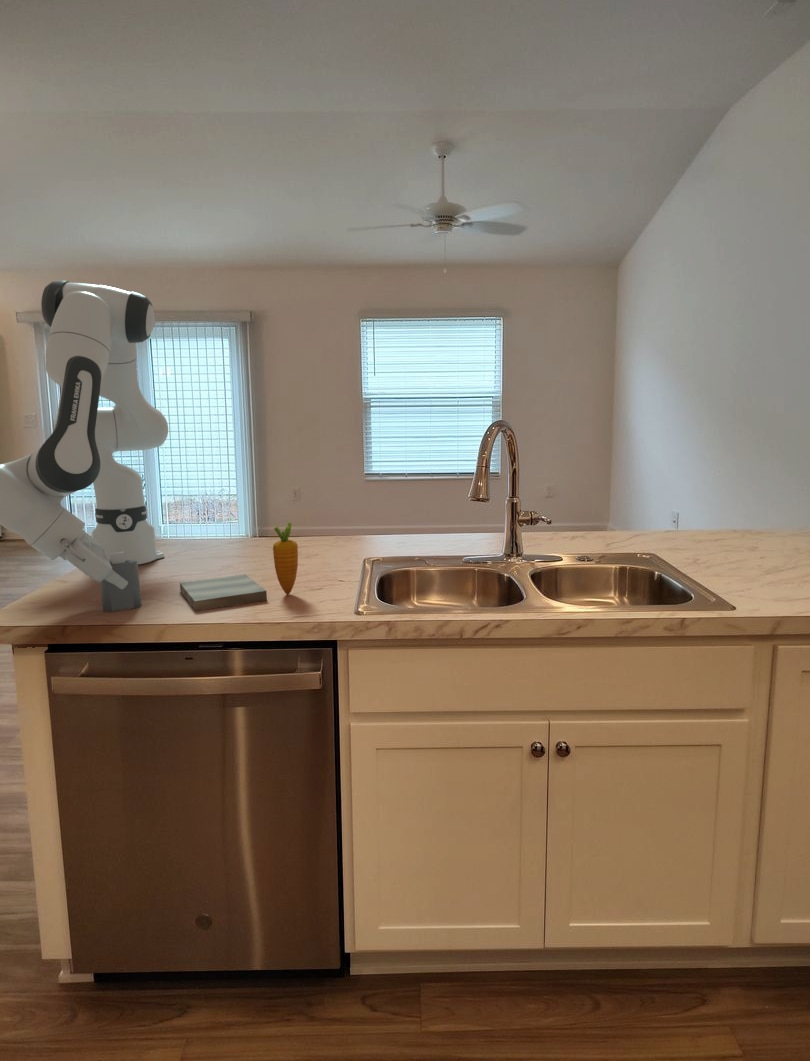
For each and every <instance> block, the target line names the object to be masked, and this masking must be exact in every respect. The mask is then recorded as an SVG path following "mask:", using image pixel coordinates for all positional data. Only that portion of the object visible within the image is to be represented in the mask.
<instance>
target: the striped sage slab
mask: <svg viewBox="0 0 810 1061" xmlns="http://www.w3.org/2000/svg"><path fill="white" fill-rule="evenodd" d="M179 588H180V590H179V591H181V592H182V593H181V592H180V593H181V595H182V596H183V595H184V596H185V597H184V596H183V597H184V598H185V599H187V600H188V601H187V600H186V601H187V602H188V604H189V603H190V604H191V605H190V604H189V605H190V606H191V607H193V608H194V609H193V608H192V609H193V611H194V612H198V611H197V610H200V611H205V610H204V609H207V610H212V609H211V608H214V609H218V607H220V608H225V607H224V606H227V607H231V606H230V605H233V606H238V605H237V604H240V605H244V604H243V603H247V604H251V603H259V601H260V602H265V600H267V601H268V599H267V598H268V597H267V596H268V595H267V590H266V589H265V588H263V586H261V585H259V583H257V582H256V581H255V580H253V579H252V578H251V577H250V576H249V575H247V574H246V573H245V574H244V573H243V574H238V575H237V574H236V575H229V576H221V577H212V578H207V579H200V580H191V581H183V582H182V581H181V582H179Z"/></svg>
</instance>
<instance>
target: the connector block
mask: <svg viewBox="0 0 810 1061" xmlns="http://www.w3.org/2000/svg"><path fill="white" fill-rule="evenodd" d="M110 557H111V562H110V564H111V566H112V570H114V572H116V573H117V574H118V575H120V576H122V577H123V578H124V579H126V580H127V582H128V584H127V586H126V587H125V588H124V589H120V588H119V587H117V586H116V585H114V584H112V583H110V582H108V581H106V580H105V579H103V581H102V582H99V585H100V595H101V605H102V611H103V612H105V611H110V612H117V611H123V610H132V609H136V608H137V609H138V608H140V607H142V597H141V596H142V595H141V585H140V574H139V573H140V572H139V564H138V562H137V560H126V561H125V557H124V552H115V553H110ZM116 610H117V611H116Z"/></svg>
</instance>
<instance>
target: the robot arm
mask: <svg viewBox="0 0 810 1061" xmlns="http://www.w3.org/2000/svg"><path fill="white" fill-rule="evenodd" d="M40 300H41V301H40V306H41V308H40V309H41V313H42V318H43V320H44V322H45V323H46V324H47V325H48V326H49V328H50V329H49V333H48V338H47V341H46V347H45V361H44V362H45V372H46V374H47V375H48V377H50V379H51V380H52V381H53V382H54V383H56V385H58V386H60V393H59V394H60V395H59V402H58V406H57V407H58V409H57V414H56V419H55V423H54V430H53V431H52V433H51V434H50V436H49V437H48V438H47V439H46V440H45V441H44V442H43V444H42V445H41V446H40V447H38V449H37V450H35V451H34V452H33V453H30V454H27V455H26V456H23V457H21V458H18V459H15V460H12V461H9V462H5V463H0V526H2V527H3V528H5V529H6V530H8V531H9V532H12V533H15V534H17V535H19V536H20V537H21V538H22V539H23V540H24V541H25V542H26V543H27V544H28V545H30V546H31V547H32V548H33V549H35V550H37V551H38V552H39V553H40V554H42V555H44V556H45V557H46V558H48V559H50V560H51V561H54V560H56V559H58V558H60V559H62V560H63V561H68V562H69V563H70V564H72V566H74V567H76V568H77V569H78V570H79V571H80V572H82V573H83V574H85V575H86V576H88V577H89V578H90V579H92V580H93V581H95V582H97V583H100V582H102V581H103V579H105V580H106V581H108V582H110V583H112V584H114V585H116V586H117V587H119V588H120V589H124V588H125V587H126V586H127V584H128V582H127V580H126V579H124V578H123V577H122V576H120V575H118V574H117V573H116V572H114V570H112V566H111V564H110V562H111V557H110V553H115V552H124V557H125V561H126V560H137V562H138V565H142V564H143V565H144V564H146V563H150V562H152V561H156V560H158V559H162V558H165V553H164V552H162V551H160V550H157V549H158V548H157V540H156V533H155V527H154V526H153V525H152V524H150V523H149V522H148V520H147V519H148V510H147V506H146V504H145V503H144V501H145V499H144V490H143V489H144V488H143V478H142V477H141V475H140V473H139V472H138V471H137V470H135V469H133V468H132V467H130V466H128V465H125V464H122V463H118V461H116V460H115V459H114V455H113V454H114V453H116V452H133V451H134V452H136V451H146V450H147V451H148V450H151V449H155V448H159V447H162V446H163V444H164V443H165V442H166V440H167V438H168V435H169V424H168V422H167V418H166V417H165V415H163V413H162V411H160V410H159V409H158V408H155V407H154V406H153V405H152V404H150V403H149V402H148V401H147V400H146V398H145V397H144V395H143V394H142V393H143V392H142V391H141V389H140V386H139V378H138V364H137V362H138V361H137V360H138V359H137V358H138V357H137V343H143V342H146V341H147V340H148V339H150V337H151V334H152V332H153V330H154V328H155V327H154V326H155V323H156V322H155V321H156V316H155V312H154V308H153V304H152V302H151V301H150V299H149V298H148V297H147V296H145V295H143V294H141V293H139V292H136V291H127V290H125V289H121V288H117V287H112V286H108V285H103V284H99V285H98V284H92V283H84V282H83V283H82V282H70V280H69V281H68V280H54V281H51V282H50V283H49V284H47V285H46V286H45V287H44V289H43V291H42V294H41V298H40ZM100 397H101V398H103V399H106V400H109V401H111V402H112V403H113V404H115V405H114V406H99V402H100ZM91 485H93V490H94V496H95V504H96V508H95V509H94V510H95V513H94V517H95V522H96V523H97V524H96V526H95V528H94V529H92V531H91V532H90V534H91V535H90V534H88V533H87V532H86V531H85V530H84V527H85V526H86V523H85V522H84V521H82V520H81V519H80V518H79V517H77V516H76V515H74V514H73V513H72V512H70V511H69V510H68V509H66V508H65V507H63V506H62V504H61V502H62V501H63V499H64V498H66V497H68V496H70V495H72V494H75V493H76V492H79V491H81V490H85V489H87V488H88V487H89V486H91Z"/></svg>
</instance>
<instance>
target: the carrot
mask: <svg viewBox="0 0 810 1061" xmlns="http://www.w3.org/2000/svg"><path fill="white" fill-rule="evenodd" d="M273 530H274V531H275V532H276V534H277V535H278V537H279V539H280V540H278V541H275V543H274V544H273V547H272V551H273V563H274V569H275V574H276V576H277V580H278V582H279V585H280V587H281V590H283V592H284V594H285V595H288V594H289V595H290V593H292V590H293V588H294V586H295V582H296V580H297V579H296V578H297V573H298V567H299V566H298V565H299V564H298V563H299V562H298V561H299V558H298V557H299V554H298V553H299V551H298V549H299V547H298V543H297V542H296V541H295V540H292V539H289V537H290V535H291V532H292V531H291V530H292V522H289V521H288V522H287V525H286V527H285V529H284V530H282V531H281V530H280V528H279V526H274V527H273ZM289 595H288V596H289Z"/></svg>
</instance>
